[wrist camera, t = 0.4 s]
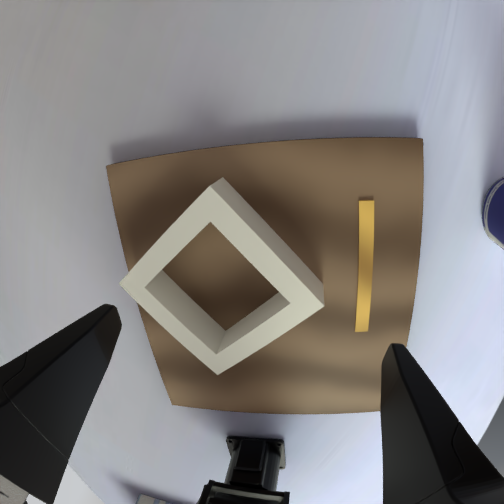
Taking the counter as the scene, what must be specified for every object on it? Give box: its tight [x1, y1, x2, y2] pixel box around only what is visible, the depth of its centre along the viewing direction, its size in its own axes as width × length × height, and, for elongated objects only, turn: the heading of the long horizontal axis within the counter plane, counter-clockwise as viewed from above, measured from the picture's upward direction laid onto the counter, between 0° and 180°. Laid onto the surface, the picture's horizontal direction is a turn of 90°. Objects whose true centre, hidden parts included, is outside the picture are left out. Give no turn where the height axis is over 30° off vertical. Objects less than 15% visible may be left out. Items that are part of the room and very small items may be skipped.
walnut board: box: [106, 137, 424, 414], centre depth 24 cm, size 24×22×1 cm
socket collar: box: [119, 177, 324, 375], centre depth 22 cm, size 10×10×3 cm
